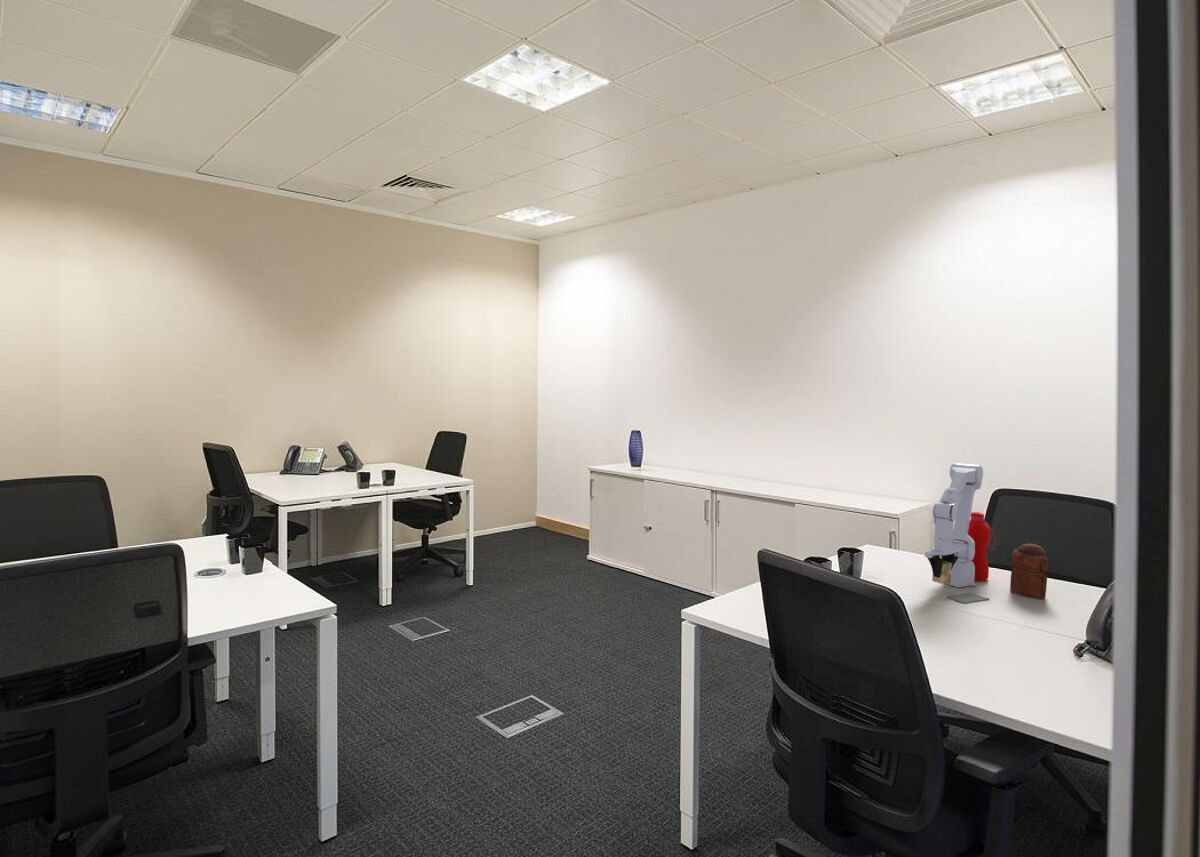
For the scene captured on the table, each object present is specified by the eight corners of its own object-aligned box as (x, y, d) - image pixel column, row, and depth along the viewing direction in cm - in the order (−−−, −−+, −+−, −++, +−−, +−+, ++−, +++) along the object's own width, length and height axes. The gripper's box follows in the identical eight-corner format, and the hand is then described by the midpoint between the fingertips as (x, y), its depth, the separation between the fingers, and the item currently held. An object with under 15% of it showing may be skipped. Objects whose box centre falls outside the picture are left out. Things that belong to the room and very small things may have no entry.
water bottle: (993, 584, 247) (997, 516, 245) (959, 579, 253) (962, 513, 251) (993, 578, 255) (997, 512, 253) (961, 573, 260) (964, 509, 259)
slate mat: (970, 593, 236) (970, 592, 236) (989, 599, 229) (989, 598, 229) (945, 597, 231) (945, 596, 231) (963, 603, 225) (963, 602, 225)
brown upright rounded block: (1050, 597, 233) (1054, 546, 231) (1044, 601, 229) (1047, 548, 227) (1013, 588, 242) (1016, 539, 241) (1005, 592, 238) (1008, 541, 237)
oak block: (940, 579, 237) (941, 559, 236) (950, 582, 233) (951, 562, 232) (932, 580, 235) (933, 561, 235) (942, 584, 231) (943, 564, 231)
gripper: (948, 533, 239) (946, 570, 240) (918, 536, 234) (916, 575, 235) (966, 537, 233) (964, 576, 234) (935, 541, 227) (933, 580, 228)
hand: (941, 576), depth 234 cm, fingers closed on oak block, 4 cm apart
